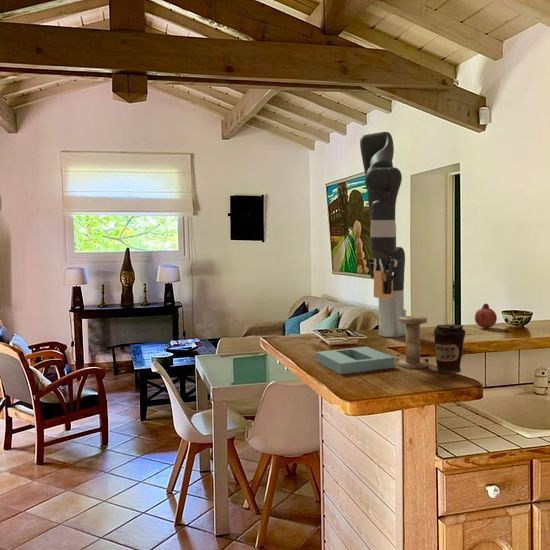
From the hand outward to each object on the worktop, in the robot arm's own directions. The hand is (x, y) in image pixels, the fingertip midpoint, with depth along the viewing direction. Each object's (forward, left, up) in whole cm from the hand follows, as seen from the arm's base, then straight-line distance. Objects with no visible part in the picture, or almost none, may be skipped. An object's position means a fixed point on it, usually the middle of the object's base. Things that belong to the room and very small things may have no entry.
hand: (383, 293), depth 161 cm
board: (+9, -1, -21) cm, 23 cm away
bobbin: (-6, +7, -21) cm, 23 cm away
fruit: (-65, -29, -21) cm, 74 cm away
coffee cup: (-11, +17, -21) cm, 29 cm away
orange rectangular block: (0, 0, -1) cm, 1 cm away
